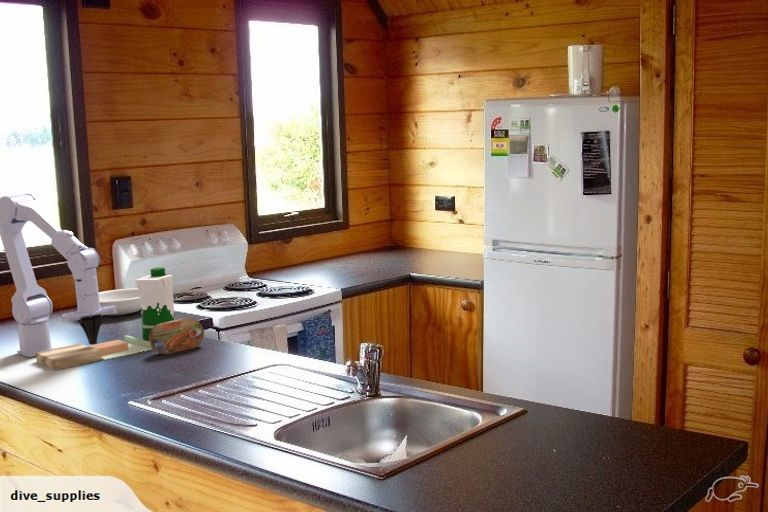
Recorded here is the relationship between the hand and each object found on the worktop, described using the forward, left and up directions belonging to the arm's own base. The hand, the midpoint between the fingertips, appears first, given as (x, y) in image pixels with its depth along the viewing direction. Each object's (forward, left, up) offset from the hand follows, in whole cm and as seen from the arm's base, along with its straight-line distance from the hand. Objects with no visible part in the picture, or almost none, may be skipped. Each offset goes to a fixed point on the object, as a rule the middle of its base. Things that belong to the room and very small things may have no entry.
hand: (92, 343), depth 246 cm
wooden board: (0, -7, -3) cm, 8 cm away
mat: (0, +6, -3) cm, 7 cm away
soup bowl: (-50, +31, -3) cm, 59 cm away
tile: (0, +4, -3) cm, 5 cm away
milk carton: (-3, +21, -3) cm, 21 cm away
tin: (+15, +17, -3) cm, 23 cm away
